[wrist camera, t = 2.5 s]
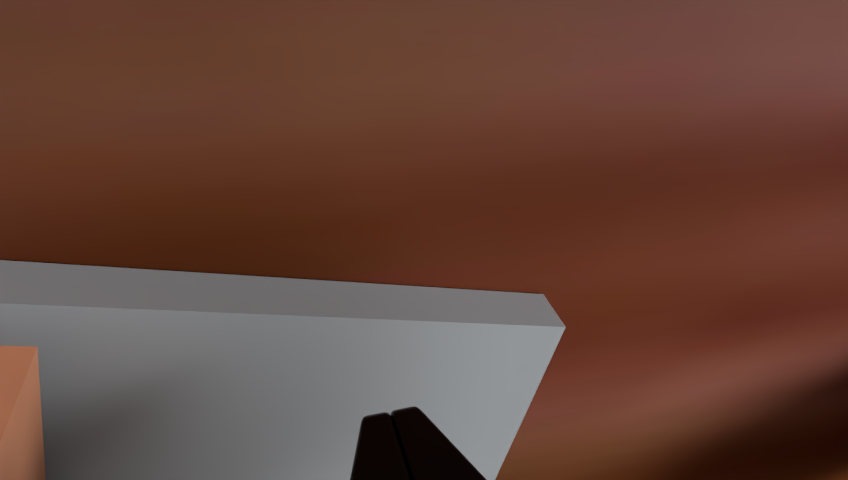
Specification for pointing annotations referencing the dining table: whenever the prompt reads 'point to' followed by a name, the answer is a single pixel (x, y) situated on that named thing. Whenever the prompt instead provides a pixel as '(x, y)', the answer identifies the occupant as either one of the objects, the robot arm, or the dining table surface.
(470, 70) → the dining table surface
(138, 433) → the board
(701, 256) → the dining table surface
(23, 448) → the flange plate
